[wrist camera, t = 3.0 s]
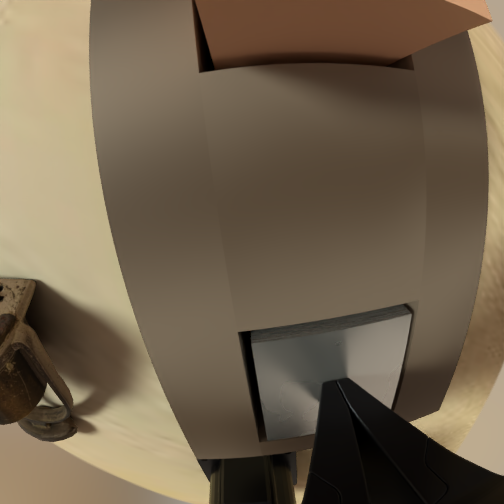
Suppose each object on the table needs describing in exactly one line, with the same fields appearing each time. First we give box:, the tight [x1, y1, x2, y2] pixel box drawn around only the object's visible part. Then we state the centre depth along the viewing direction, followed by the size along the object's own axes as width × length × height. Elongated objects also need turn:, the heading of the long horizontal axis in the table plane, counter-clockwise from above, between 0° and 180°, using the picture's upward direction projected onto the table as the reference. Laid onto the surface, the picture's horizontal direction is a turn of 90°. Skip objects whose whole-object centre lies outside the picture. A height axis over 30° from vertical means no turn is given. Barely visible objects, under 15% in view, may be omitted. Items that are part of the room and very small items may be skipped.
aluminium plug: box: [251, 304, 412, 441], centre depth 10 cm, size 4×4×5 cm
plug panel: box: [89, 0, 489, 459], centre depth 9 cm, size 18×10×5 cm, turn 7°
